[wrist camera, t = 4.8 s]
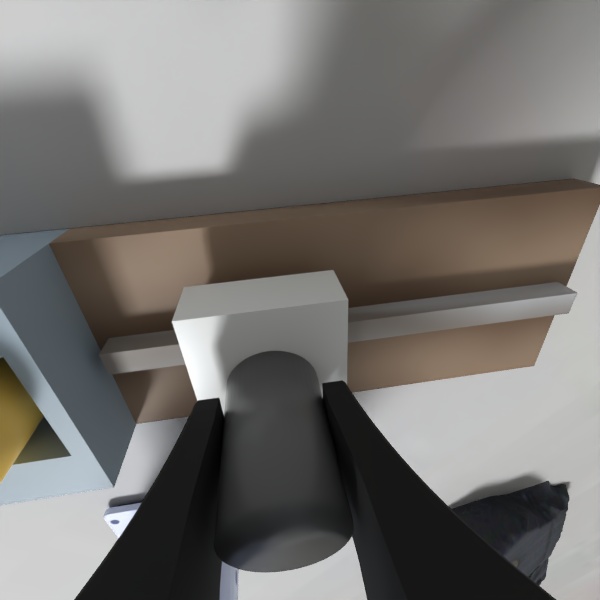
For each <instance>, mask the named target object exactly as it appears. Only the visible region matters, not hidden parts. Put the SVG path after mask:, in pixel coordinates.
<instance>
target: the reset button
mask: <svg viewBox="0 0 600 600" xmlns="http://www.w3.org/2000/svg"><path fill="white" fill-rule="evenodd" d="M43 417H44V415H43V414H42V412H41V411H40V409H39V408H38V406H37V405H36V404H35V402H34V401H33V399H32V398H31V396H30V395H29V393H28V392H27V390H26V389H25V388H24V386H23V385H22V383H21V382H20V380H19V379H18V377H17V376H16V375H15V373H14V372H13V370H12V369H11V367H10V366H9V364H8V363H7V362H6V360H5V359H4V357H3V358H0V483H1V482H2V480H3V479H4V477H5V475H6V474H7V472H8V471H9V469H10V468H11V466H12V465H13V463H14V462H15V460H16V459H17V457H18V456H19V454H20V452H21V451H22V449H23V448H24V446H25V445H26V443H27V442H28V440H29V439H30V437H31V436H32V434H33V433H34V431H35V430H36V428H37V426H38V425H39V423H40V422H41V420H42V419H43Z"/></svg>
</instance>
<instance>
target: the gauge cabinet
mask: <svg viewBox="0 0 600 600" xmlns="http://www.w3.org/2000/svg"><path fill="white" fill-rule="evenodd" d="M67 230H69V229H61V230H51V231H41V232H30V233H20V234H10V235H0V358H3V357H4V359H5V360H6V362H7V363H8V364H9V366H10V367H11V369H12V370H13V372H14V373H15V375H16V376H17V377H18V379H19V380H20V382H21V383H22V385H23V386H24V388H25V389H26V390H27V392H28V393H29V395H30V396H31V398H32V399H33V401H34V402H35V404H36V405H37V406H38V408H39V409H40V411H41V412H42V414H43V415H44V417H43V419H42V420H41V422H40V423H39V425H38V426H37V428H36V430H35V431H34V433H33V434H32V436H31V437H30V439H29V440H28V442H27V443H26V445H25V446H24V448H23V449H22V451H21V452H20V454H19V456H18V457H17V459H16V460H15V462H14V463H13V465H12V466H11V468H10V469H9V471H8V472H7V474H6V475H5V477H4V479H3V480H2V482H1V483H0V505H6V504H12V503H19V502H25V501H31V500H37V499H44V498H50V497H56V496H62V495H69V494H75V493H81V492H87V491H94V490H100V489H106V488H112V487H114V486H115V483H116V480H117V477H118V474H119V471H120V469H121V466H122V463H123V460H124V457H125V454H126V452H127V449H128V446H129V443H130V440H131V437H132V434H133V432H134V429H135V426H136V423H135V420H134V418H133V416H132V414H131V412H130V410H129V408H128V406H127V404H126V402H125V400H124V398H123V396H122V394H121V392H120V390H119V387H118V385H117V383H116V381H115V379H114V377H113V375H112V374H111V375H109V374H108V372H107V370H106V368H105V366H104V364H103V362H102V360H101V358H100V356H99V353H100V352H101V350H100V348H99V346H98V344H97V342H96V340H95V338H94V336H93V334H92V332H91V330H90V328H89V326H88V323H87V321H86V319H85V317H84V315H83V313H82V311H81V309H80V307H79V305H78V303H77V301H76V299H75V297H74V295H73V293H72V290H71V288H70V286H69V284H68V282H67V280H66V278H65V276H64V274H63V272H62V270H61V268H60V266H59V264H58V262H57V260H56V257H55V255H54V253H53V251H52V249H51V247H50V245H49V243H50V242H52V241H53V240H54V239H56V238H57V237H59V236H60V235H61V234H63V233H64V232H66V231H67Z"/></svg>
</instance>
